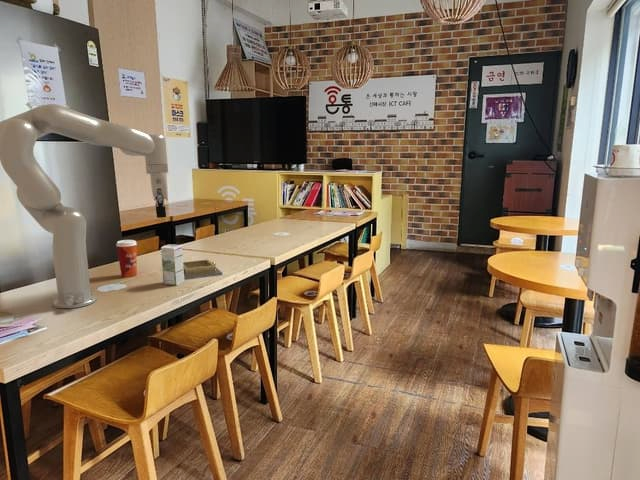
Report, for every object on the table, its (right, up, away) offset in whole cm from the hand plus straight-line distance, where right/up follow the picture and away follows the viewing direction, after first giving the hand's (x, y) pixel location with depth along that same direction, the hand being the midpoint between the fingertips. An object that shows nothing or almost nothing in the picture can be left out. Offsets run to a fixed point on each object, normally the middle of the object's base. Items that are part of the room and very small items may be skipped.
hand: (161, 215), depth 170 cm
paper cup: (-17, -24, +13) cm, 32 cm away
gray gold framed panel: (+8, -22, +20) cm, 31 cm away
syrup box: (+4, -26, +3) cm, 26 cm away
